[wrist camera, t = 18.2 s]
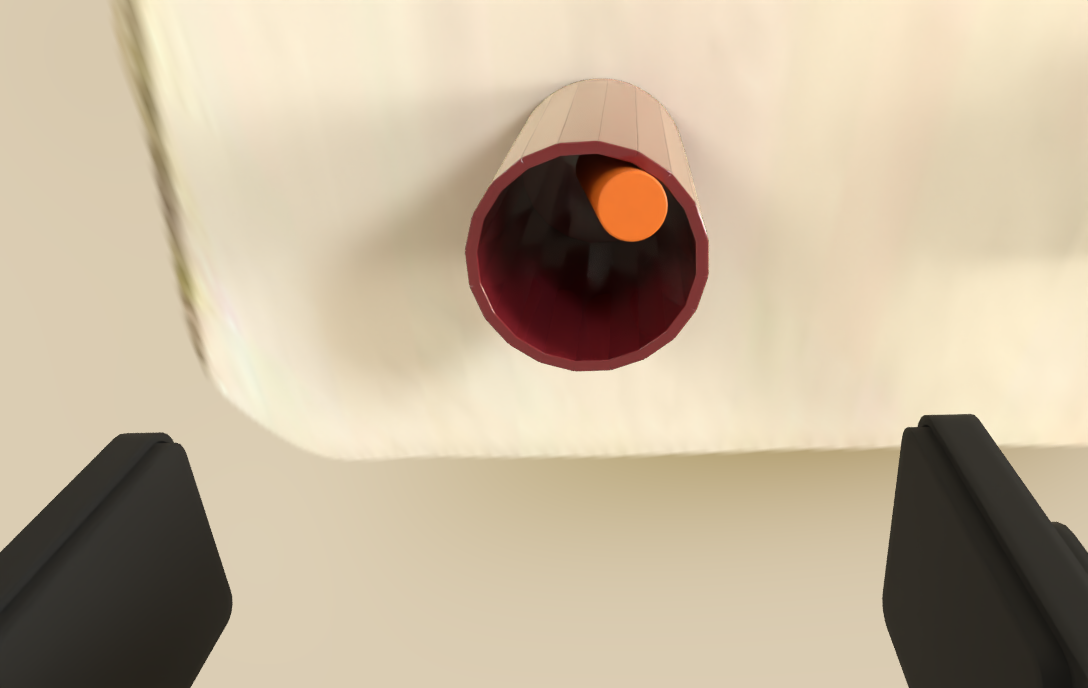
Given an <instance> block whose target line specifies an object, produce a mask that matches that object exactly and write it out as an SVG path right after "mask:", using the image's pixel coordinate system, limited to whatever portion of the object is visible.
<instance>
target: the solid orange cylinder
mask: <svg viewBox="0 0 1088 688" xmlns="http://www.w3.org/2000/svg"><path fill="white" fill-rule="evenodd" d="M576 176H577V179H578V181H579V183H580V185H581V186H582V188H583V190H584V192H585V194H586V196H587V198H588V200H589V202H590V204H591V205H592V207H593V209H594V211H595V213H596V215H597V217H598V219H599V221H600V223H601V224H602V226H603V228H604V229H605V230H606V231H607V232H608V233H609V234H610V235H612V236H613V237H615V238H617V239H619V240H622V241H628V242H635V241H640V240H644V239H646V238H648V237H650V236H651V235H653V234H654V233H655V232H656V231H657V230H658V229H659V228H660V227H661V225H662V224H663V222H664V220H665V217H666V214H667V207H668V203H667V197H666V193H665V191H664V189H663V187H662V185H661V184H660V183H659V182H658V181H657V180H656V179H655V178H654V177H653V176H651V175H649V174H648V173H646V172H645V171H643V170H642V169H640V168H639V167H637V166H636V165H634V164H633V163H630V162H627V161H623V160H619V159H615V158H611V157H607V156H603V155H600V154H587V155H580V156H579V158H578V160H577V163H576Z"/></svg>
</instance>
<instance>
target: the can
mask: <svg viewBox="0 0 1088 688" xmlns="http://www.w3.org/2000/svg"><path fill="white" fill-rule="evenodd" d="M587 154H600V155H603V156H607V157H611V158H615V159H619V160H623V161H627V162H630V163H633V164H634V165H636V166H637V167H639V168H640V169H642V170H643V171H645V172H646V173H648V174H649V175H651V176H653V177H654V178H655V179H656V180H657V181H658V182H659V183H660V184H661V185H662V187H663V189H664V191H665V193H666V197H667V203H668V207H667V214H666V217H665V220H664V222H663V224H662V225H661V227H660V228H659V229H658V230H657V231H656V232H655V233H654V234H653V235H651V236H650V237H648V238H646V239H644V240H640V241H635V242H628V241H622V240H619V239H617V238H615V237H613V236H612V235H610V234H609V233H608V232H607V231H606V230H605V229H604V228H603V226H602V224H601V223H600V221H599V219H598V217H597V215H596V213H595V211H594V209H593V207H592V205H591V204H590V202H589V200H588V198H587V196H586V194H585V192H584V190H583V188H582V186H581V185H580V183H579V181H578V179H577V176H576V163H577V160H578V158H579V156H580V155H587ZM465 250H466V251H465V256H466V264H467V272H468V280H469V285H470V289H471V291H472V293H473V295H474V297H475V299H476V301H477V303H478V305H479V307H480V310H481V312H482V314H483V316H484V317H485V319H486V320H487V321H488V322H489V323H490V325H491V326H492V327H493V328H494V329H495V330H496V331H497V332H498V333H499V334H500V335H501V336H502V337H503V339H504V340H505V341H506V342H507V343H508V344H510V345H511V346H513V347H514V348H516V349H518V350H519V351H521V352H523V353H525V354H526V355H528V356H530V357H531V358H533V359H535V360H536V361H538V362H541V363H544V364H548V365H552V366H556V367H560V368H563V369H567V370H571V371H574V370H575V371H601V370H610V369H611V370H613V369H616V368H619V367H622V366H625V365H628V364H631V363H634V362H638V361H641V360H644V358H647V357H649V356H650V355H652V354H653V353H654V352H656V351H657V350H659V349H660V348H662V347H663V346H664V345H666V344H667V343H669V342H670V341H672V340H673V339H674V338H675V337H676V336H677V335H678V333H679V332H680V331H681V330H682V328H683V327H684V326H685V324H686V323H687V322H688V320H689V319H690V318H691V317H692V315H693V314H694V313H695V311H696V309H697V307H698V305H699V302H700V299H701V296H702V293H703V290H704V287H705V285H706V282H707V279H708V274H709V240H708V235H707V231H706V228H705V224H704V220H703V217H702V213H701V209H700V205H699V202H698V198H697V194H696V190H695V187H694V183H693V179H692V176H691V172H690V168H689V164H688V161H687V157H686V153H685V150H684V147H683V144H682V141H681V138H680V135H679V132H678V129H677V126H676V125H675V123H674V121H673V119H672V118H671V116H670V115H669V113H668V112H667V111H666V109H665V108H664V107H663V106H662V105H661V104H660V103H659V102H658V101H657V100H656V99H655V98H654V97H652V96H651V95H650V94H649V93H647V92H645V91H644V90H642V89H640V88H638V87H636V86H634V85H631V84H629V83H626V82H622V81H619V80H612V79H589V80H582V81H579V82H575V83H572V84H569V85H567V86H565V87H563V88H561V89H559V90H557V91H556V92H554V93H552V94H551V95H550V96H548V97H547V98H546V99H545V100H543V101H542V102H541V104H540V105H539V106H538V107H537V108H536V109H535V110H534V111H533V112H532V113H531V115H530V117H529V118H528V120H527V122H526V123H525V125H524V127H523V129H522V130H521V132H520V134H519V135H518V137H517V139H516V140H515V142H514V144H513V146H512V147H511V149H510V151H509V152H508V154H507V156H506V158H505V159H504V161H503V163H502V164H501V166H500V168H499V170H498V171H497V173H496V175H495V176H494V178H493V180H492V182H491V183H490V185H489V187H488V189H487V190H486V192H485V194H484V195H483V197H482V199H481V201H480V202H479V204H478V206H477V207H476V209H475V211H474V213H473V215H472V218H471V223H470V228H469V232H468V237H467V242H466V247H465Z"/></svg>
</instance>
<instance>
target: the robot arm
mask: <svg viewBox="0 0 1088 688" xmlns="http://www.w3.org/2000/svg"><path fill="white" fill-rule="evenodd" d="M882 599H883V613H884V618H885V622H886V626H887V629H888V632H889V634H890V637H891V640H892V643H893V645H894V648H895V650H896V654H897V656H898V659H899V662H900V665H901V667H902V670H903V673H904V675H905V678H906V681H907V684H908V686H909V688H1088V552H1087V551H1086V550H1085V548H1084V547H1083V546H1082V544H1081V543H1080V542H1079V540H1078V539H1077V537H1076V536H1075V535H1074V534H1073V533H1072V531H1070V529H1069V528H1068V527H1067V526H1066V525H1063V524H1061V523H1058V522H1051V521H1050V520H1049V519H1048V517H1047V516H1046V514H1045V513H1044V511H1043V510H1042V509H1041V507H1040V506H1039V504H1038V503H1037V502H1036V500H1035V499H1034V497H1033V496H1032V494H1031V493H1030V492H1029V490H1028V489H1027V487H1026V486H1025V484H1024V483H1023V482H1022V480H1021V479H1020V477H1019V476H1018V475H1017V473H1016V472H1015V470H1014V469H1013V467H1012V466H1011V464H1010V463H1009V462H1008V460H1007V459H1006V457H1005V456H1004V454H1003V453H1002V452H1001V450H1000V449H999V447H998V446H997V445H996V443H995V442H994V440H993V439H992V437H991V436H990V435H989V433H988V432H987V430H986V429H985V427H984V426H983V425H982V423H981V422H980V420H979V419H978V418H977V417H976V416H975V415H972V414H958V415H924V416H923V417H921V419H920V421H919V423H918V427H907V428H906V429H905V430H904V432H903V436H902V442H901V450H900V458H899V467H898V475H897V483H896V491H895V499H894V507H893V515H892V523H891V531H890V539H889V547H888V555H887V564H886V571H885V579H884V588H883V598H882ZM231 611H232V594H231V590H230V587H229V584H228V581H227V578H226V575H225V572H224V569H223V566H222V562H221V559H220V557H219V553H218V550H217V547H216V544H215V541H214V538H213V535H212V532H211V529H210V526H209V522H208V519H207V516H206V513H205V510H204V507H203V504H202V501H201V498H200V495H199V492H198V489H197V486H196V482H195V479H194V476H193V473H192V470H191V467H190V464H189V461H188V457H187V455H186V452H185V450H184V448H183V447H182V446H181V445H180V444H178V443H174V442H173V440H172V439H171V437H170V436H169V435H167V434H165V433H127V434H120V435H118V436H117V437H115V438H114V439H113V440H112V441H111V442H110V443H109V444H108V445H107V446H106V447H105V448H104V449H103V450H102V451H101V452H100V453H99V454H98V455H97V456H96V457H95V458H94V459H93V460H92V461H91V462H90V463H89V464H88V465H87V466H86V467H85V468H84V469H83V470H82V471H81V472H80V473H79V474H78V475H77V476H76V477H75V478H74V479H73V480H72V481H71V482H70V483H69V484H68V485H67V486H66V487H65V488H64V489H63V490H62V491H61V492H60V493H59V494H58V495H57V496H56V497H55V498H54V499H53V500H52V501H51V502H50V503H49V504H48V505H47V506H46V507H45V508H44V509H43V510H42V511H41V512H40V513H39V514H38V515H37V516H36V517H35V518H34V519H33V520H32V521H31V522H30V523H29V524H28V525H27V526H26V527H25V528H24V529H23V530H22V531H21V532H20V533H19V534H18V535H17V536H16V537H15V538H14V539H13V540H12V541H11V542H10V543H9V544H8V545H7V546H6V547H5V548H4V549H3V550H2V551H1V552H0V688H190V687H191V686H192V684H193V682H194V680H195V679H196V677H197V675H198V674H199V672H200V670H201V668H202V667H203V664H204V663H205V661H206V660H207V658H208V656H209V654H210V652H211V651H212V649H213V647H214V646H215V644H216V642H217V640H218V639H219V637H220V635H221V633H222V632H223V630H224V628H225V626H226V625H227V623H228V621H229V618H230V615H231Z"/></svg>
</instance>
